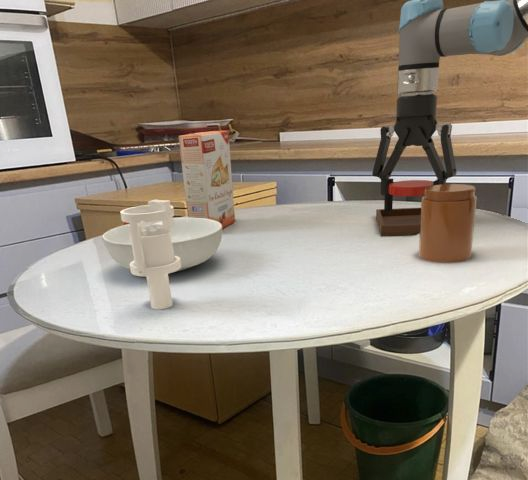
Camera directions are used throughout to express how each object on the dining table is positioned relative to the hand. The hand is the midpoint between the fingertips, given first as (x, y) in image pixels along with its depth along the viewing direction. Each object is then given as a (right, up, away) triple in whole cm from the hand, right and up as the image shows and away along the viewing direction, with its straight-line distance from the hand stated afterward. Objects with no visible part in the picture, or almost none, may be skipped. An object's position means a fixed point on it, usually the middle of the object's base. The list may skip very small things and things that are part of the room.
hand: (411, 211), depth 112 cm
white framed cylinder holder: (-46, -23, -35) cm, 62 cm away
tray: (0, -3, +1) cm, 3 cm away
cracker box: (-43, -1, +13) cm, 45 cm away
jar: (-1, -14, -22) cm, 26 cm away
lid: (0, +5, -2) cm, 5 cm away
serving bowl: (-48, -14, -15) cm, 53 cm away
